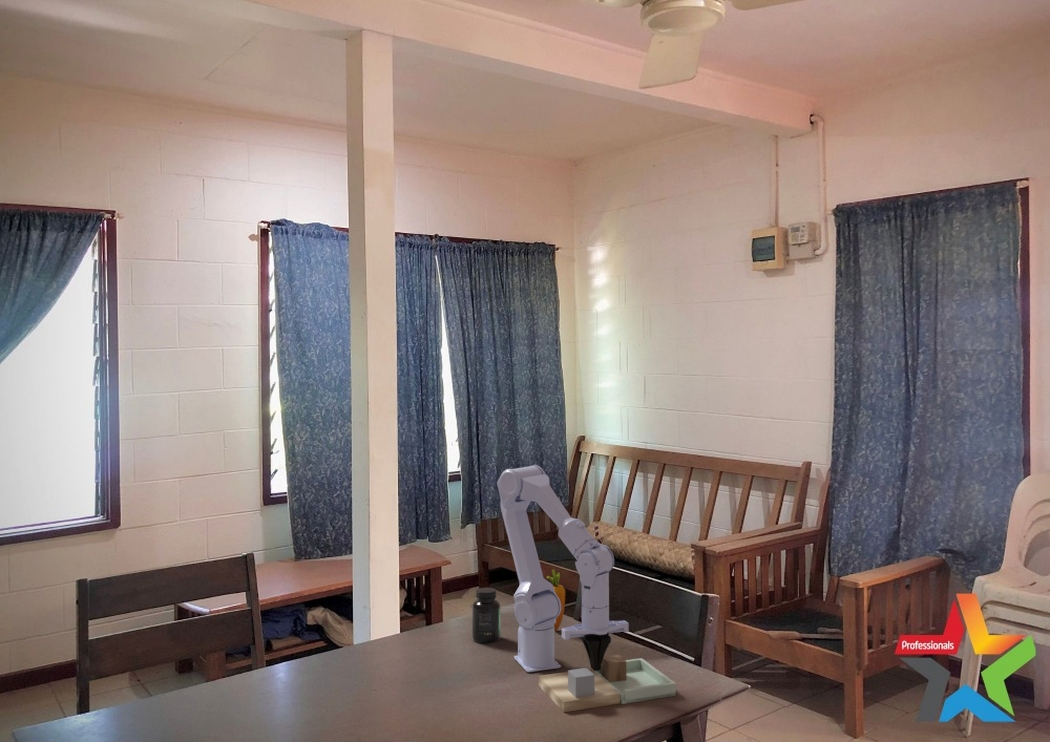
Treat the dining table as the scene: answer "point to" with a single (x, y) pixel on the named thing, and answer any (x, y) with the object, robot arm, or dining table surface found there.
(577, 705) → the birch plate
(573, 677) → the slate block
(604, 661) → the walnut block
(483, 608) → the supplement bottle
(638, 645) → the dining table surface
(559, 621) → the carrot
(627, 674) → the box
